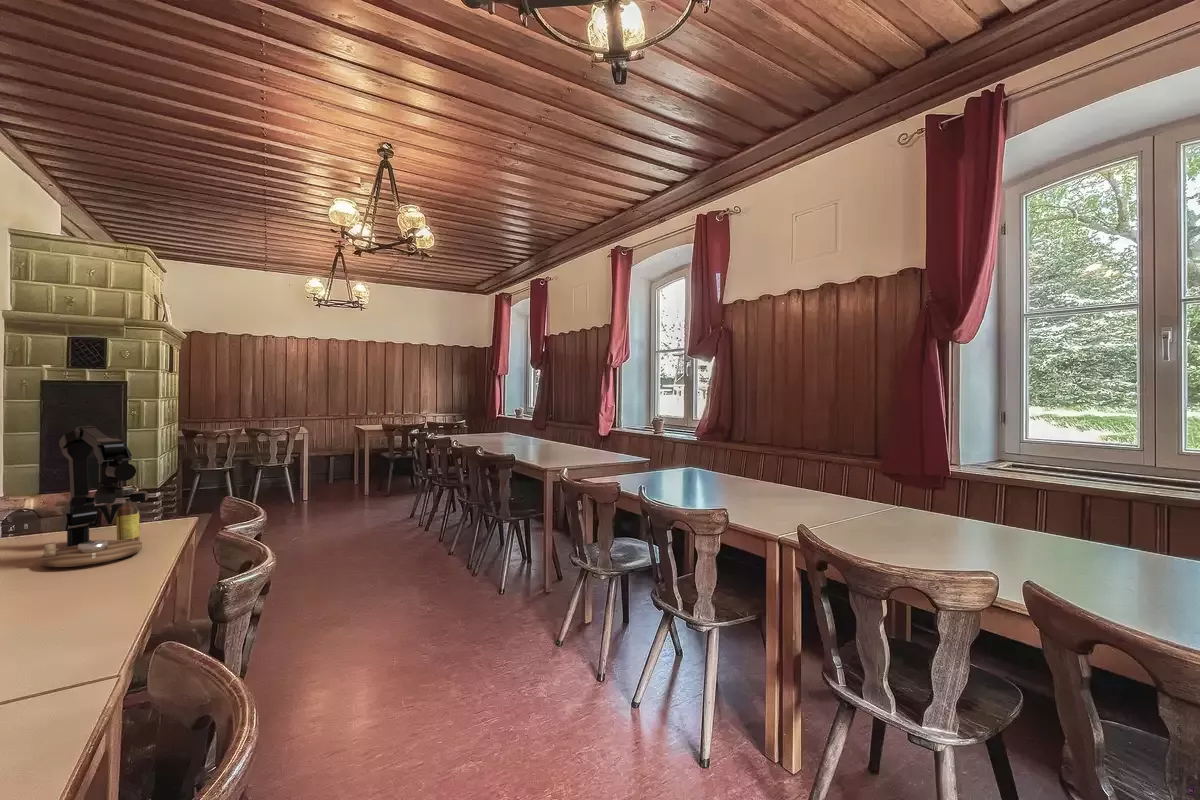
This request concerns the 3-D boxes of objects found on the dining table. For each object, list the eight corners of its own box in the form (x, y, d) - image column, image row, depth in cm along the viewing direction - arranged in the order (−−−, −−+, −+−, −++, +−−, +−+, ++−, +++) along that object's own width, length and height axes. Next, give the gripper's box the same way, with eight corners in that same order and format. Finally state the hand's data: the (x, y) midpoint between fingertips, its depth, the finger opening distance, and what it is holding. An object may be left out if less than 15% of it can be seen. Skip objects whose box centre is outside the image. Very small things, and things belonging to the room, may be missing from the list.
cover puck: (78, 550, 172) (78, 542, 172) (107, 545, 177) (107, 538, 177) (78, 555, 167) (78, 547, 167) (108, 550, 172) (108, 543, 172)
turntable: (43, 553, 173) (43, 537, 172) (139, 540, 189) (140, 525, 189) (37, 572, 155) (37, 553, 155) (144, 555, 172) (144, 539, 172)
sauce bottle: (144, 540, 194) (144, 487, 193) (127, 545, 187) (127, 490, 187) (128, 539, 194) (128, 486, 194) (111, 544, 188) (111, 489, 188)
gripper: (63, 483, 164) (63, 533, 164) (141, 479, 174) (141, 526, 174) (75, 478, 173) (75, 525, 173) (148, 474, 183) (148, 518, 183)
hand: (110, 523), depth 176 cm, fingers closed
